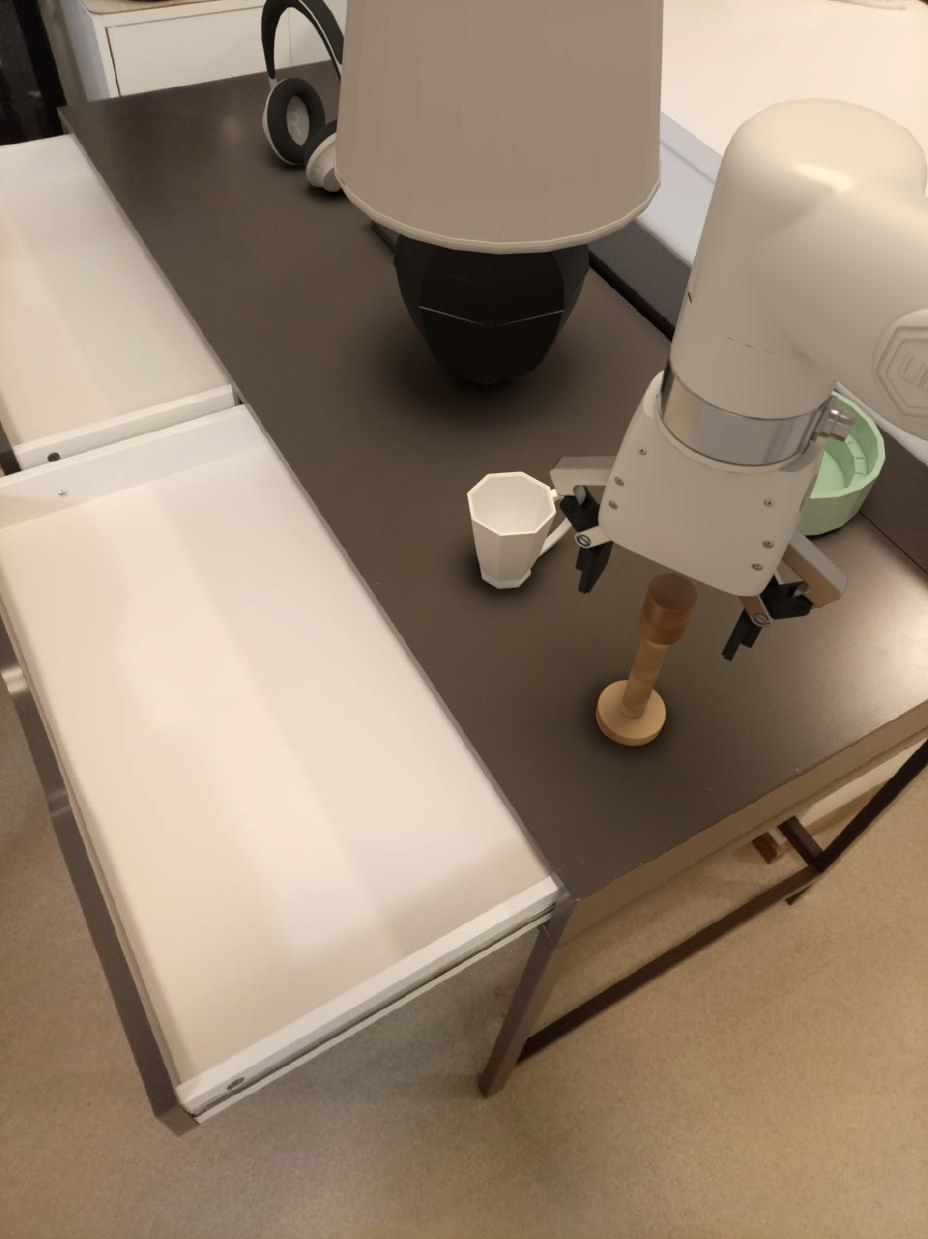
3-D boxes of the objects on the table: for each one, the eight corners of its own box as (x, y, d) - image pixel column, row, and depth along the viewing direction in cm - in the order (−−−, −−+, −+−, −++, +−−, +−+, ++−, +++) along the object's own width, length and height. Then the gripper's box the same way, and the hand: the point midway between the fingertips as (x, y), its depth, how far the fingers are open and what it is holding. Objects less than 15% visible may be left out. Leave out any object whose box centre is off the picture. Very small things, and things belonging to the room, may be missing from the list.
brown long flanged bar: (672, 706, 67) (726, 580, 55) (646, 757, 64) (696, 637, 52) (612, 677, 68) (651, 548, 56) (584, 726, 66) (618, 602, 54)
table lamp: (485, 260, 101) (508, -212, 69) (673, 372, 90) (805, -127, 58) (296, 361, 90) (218, -148, 58) (486, 504, 79) (521, -27, 47)
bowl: (879, 460, 84) (903, 414, 79) (833, 567, 76) (858, 523, 71) (725, 403, 88) (741, 357, 83) (667, 499, 80) (680, 454, 75)
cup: (447, 556, 75) (448, 488, 69) (546, 514, 78) (556, 446, 72) (490, 614, 72) (495, 549, 65) (592, 568, 75) (607, 502, 68)
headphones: (252, 152, 114) (222, -31, 98) (308, 134, 117) (288, -46, 101) (334, 219, 106) (316, 29, 89) (392, 197, 109) (385, 10, 93)
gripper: (941, 417, 42) (812, 627, 56) (607, 296, 46) (564, 518, 60) (902, 518, 38) (773, 716, 52) (541, 376, 43) (512, 593, 56)
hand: (661, 609), depth 56 cm, fingers open, 9 cm apart
